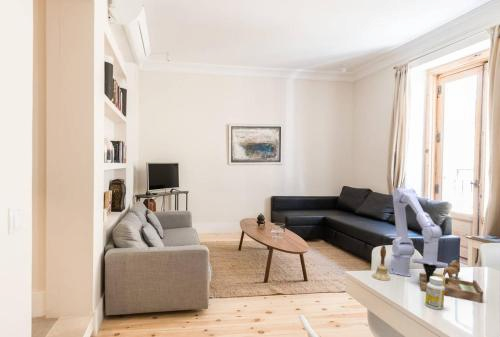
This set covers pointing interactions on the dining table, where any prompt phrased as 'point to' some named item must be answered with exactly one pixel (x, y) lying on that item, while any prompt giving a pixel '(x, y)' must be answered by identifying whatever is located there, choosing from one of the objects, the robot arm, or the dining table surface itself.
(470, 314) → the dining table surface
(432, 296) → the supplement bottle
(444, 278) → the ochre block
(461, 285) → the walnut lane
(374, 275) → the hand bell
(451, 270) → the lion figurine
